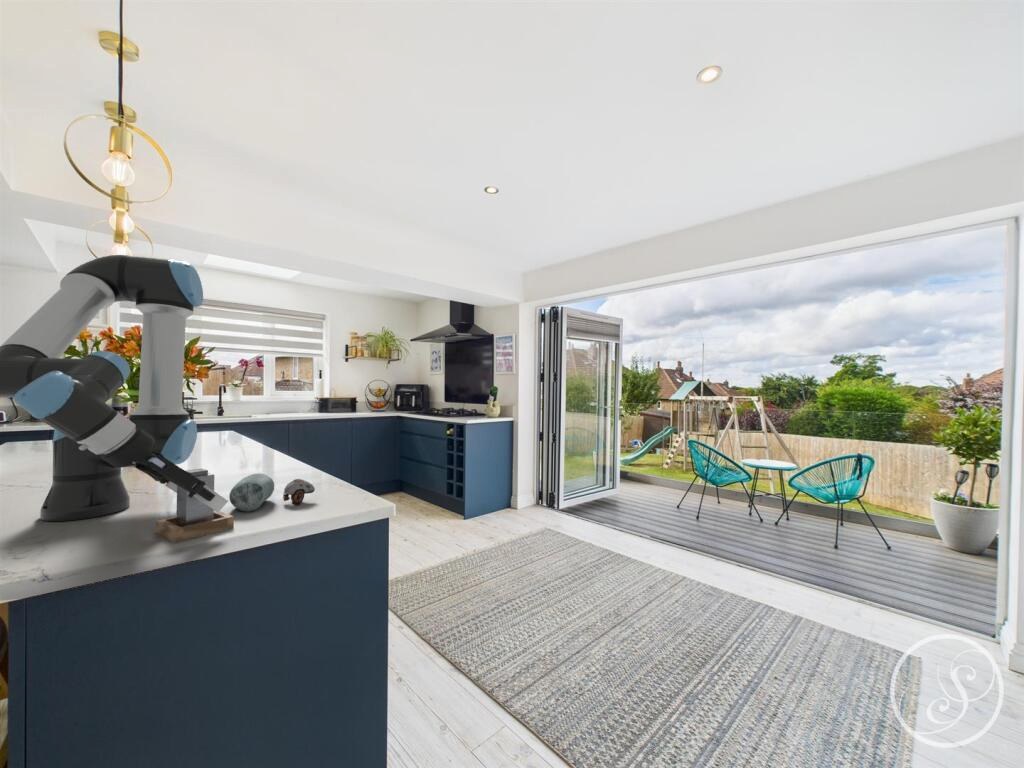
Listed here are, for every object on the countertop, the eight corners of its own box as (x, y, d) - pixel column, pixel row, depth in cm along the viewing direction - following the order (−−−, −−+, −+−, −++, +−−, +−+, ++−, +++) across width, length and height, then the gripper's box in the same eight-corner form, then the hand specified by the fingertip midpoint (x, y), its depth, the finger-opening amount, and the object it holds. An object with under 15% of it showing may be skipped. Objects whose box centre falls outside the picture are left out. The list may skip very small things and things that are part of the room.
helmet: (282, 502, 109) (283, 478, 110) (313, 498, 114) (314, 475, 114) (284, 507, 105) (284, 482, 105) (316, 503, 109) (316, 479, 109)
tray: (155, 532, 86) (156, 520, 86) (212, 519, 95) (212, 508, 95) (175, 542, 81) (176, 530, 81) (233, 527, 90) (233, 516, 90)
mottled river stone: (268, 500, 100) (252, 464, 101) (228, 520, 97) (212, 483, 99) (288, 499, 113) (274, 467, 114) (253, 517, 110) (239, 484, 112)
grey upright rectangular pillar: (176, 531, 87) (177, 471, 87) (203, 524, 91) (204, 467, 92) (185, 536, 84) (186, 473, 85) (213, 529, 89) (214, 469, 89)
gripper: (80, 450, 82) (170, 506, 94) (121, 464, 69) (220, 527, 81) (116, 422, 86) (198, 479, 99) (161, 430, 73) (249, 495, 86)
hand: (208, 501), depth 90 cm, fingers open, 13 cm apart
